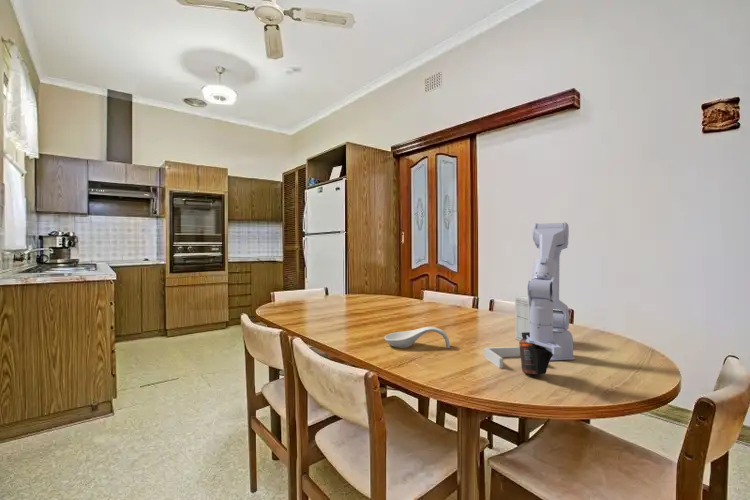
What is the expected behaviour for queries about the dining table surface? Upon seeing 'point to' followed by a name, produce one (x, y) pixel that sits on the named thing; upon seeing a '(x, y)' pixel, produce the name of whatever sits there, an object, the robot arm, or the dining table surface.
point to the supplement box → (522, 316)
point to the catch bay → (500, 354)
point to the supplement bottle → (526, 355)
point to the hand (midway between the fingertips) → (541, 373)
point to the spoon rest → (412, 337)
